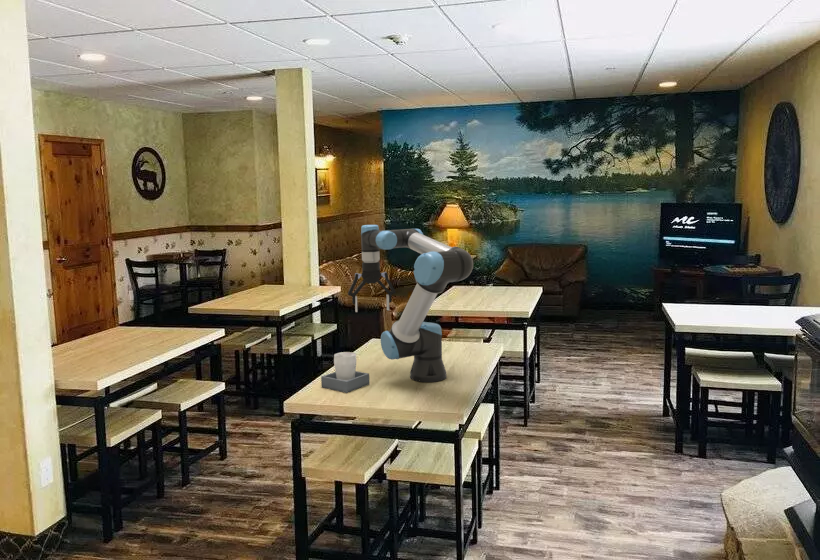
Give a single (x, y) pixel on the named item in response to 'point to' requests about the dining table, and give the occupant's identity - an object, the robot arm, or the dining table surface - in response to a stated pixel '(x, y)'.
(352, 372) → the cup
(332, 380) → the bin
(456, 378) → the dining table surface
